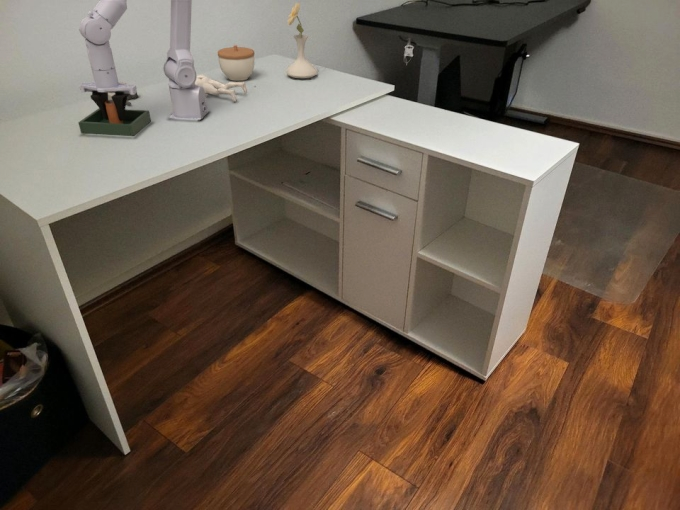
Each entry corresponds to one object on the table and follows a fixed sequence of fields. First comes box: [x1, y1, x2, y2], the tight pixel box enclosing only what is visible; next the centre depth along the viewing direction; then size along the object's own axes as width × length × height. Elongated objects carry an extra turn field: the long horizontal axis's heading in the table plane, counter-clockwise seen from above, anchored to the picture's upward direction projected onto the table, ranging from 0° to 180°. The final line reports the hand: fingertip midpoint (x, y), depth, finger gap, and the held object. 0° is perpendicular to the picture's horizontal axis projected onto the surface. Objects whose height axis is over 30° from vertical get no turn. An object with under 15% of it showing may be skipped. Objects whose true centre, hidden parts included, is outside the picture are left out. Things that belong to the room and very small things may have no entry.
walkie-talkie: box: [108, 81, 139, 106], centre depth 164 cm, size 9×4×20 cm
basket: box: [77, 108, 152, 137], centre depth 143 cm, size 15×12×4 cm
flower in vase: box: [285, 2, 318, 79], centre depth 181 cm, size 13×11×25 cm
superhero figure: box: [195, 73, 248, 103], centre depth 169 cm, size 12×6×25 cm
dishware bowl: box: [217, 44, 255, 82], centre depth 182 cm, size 13×13×11 cm
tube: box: [105, 100, 123, 124], centre depth 141 cm, size 3×3×7 cm
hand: (115, 119), depth 142 cm, fingers closed on tube, 3 cm apart
